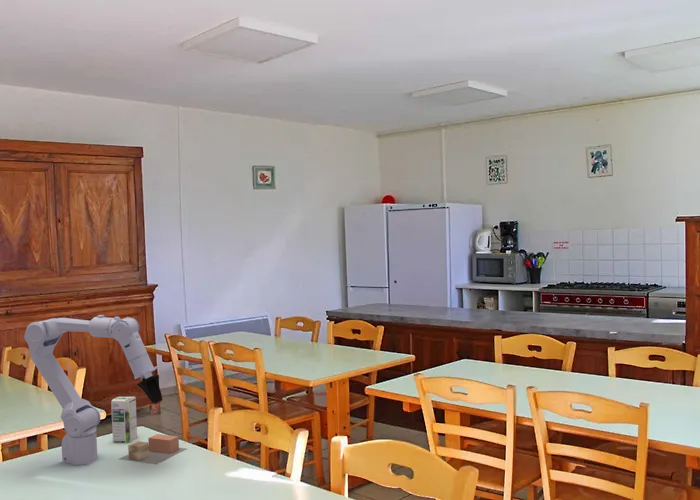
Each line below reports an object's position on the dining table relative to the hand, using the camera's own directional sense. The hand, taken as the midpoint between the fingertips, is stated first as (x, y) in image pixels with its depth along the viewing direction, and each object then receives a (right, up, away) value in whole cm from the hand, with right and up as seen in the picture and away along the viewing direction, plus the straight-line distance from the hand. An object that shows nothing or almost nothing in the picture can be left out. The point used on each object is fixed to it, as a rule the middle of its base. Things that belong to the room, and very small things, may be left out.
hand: (157, 401), depth 188 cm
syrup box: (-17, -19, +23) cm, 34 cm away
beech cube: (-7, -18, +5) cm, 20 cm away
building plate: (-3, -18, +8) cm, 20 cm away
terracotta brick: (-1, -17, +11) cm, 20 cm away
